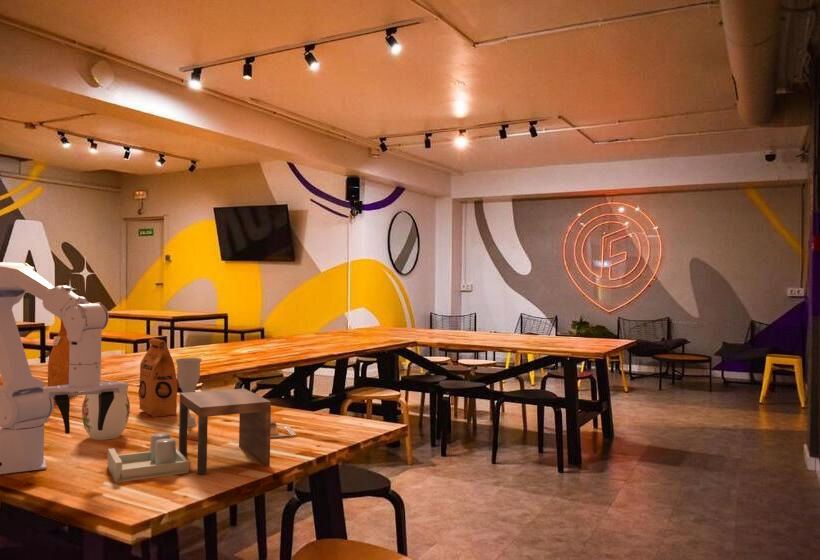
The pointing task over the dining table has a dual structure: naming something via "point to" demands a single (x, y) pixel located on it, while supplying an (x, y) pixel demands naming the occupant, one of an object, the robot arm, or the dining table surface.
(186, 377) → the chalice
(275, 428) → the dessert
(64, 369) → the wine bottle
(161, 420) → the dining table surface
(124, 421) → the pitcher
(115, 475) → the tray
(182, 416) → the miniature side table
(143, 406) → the coffee package
